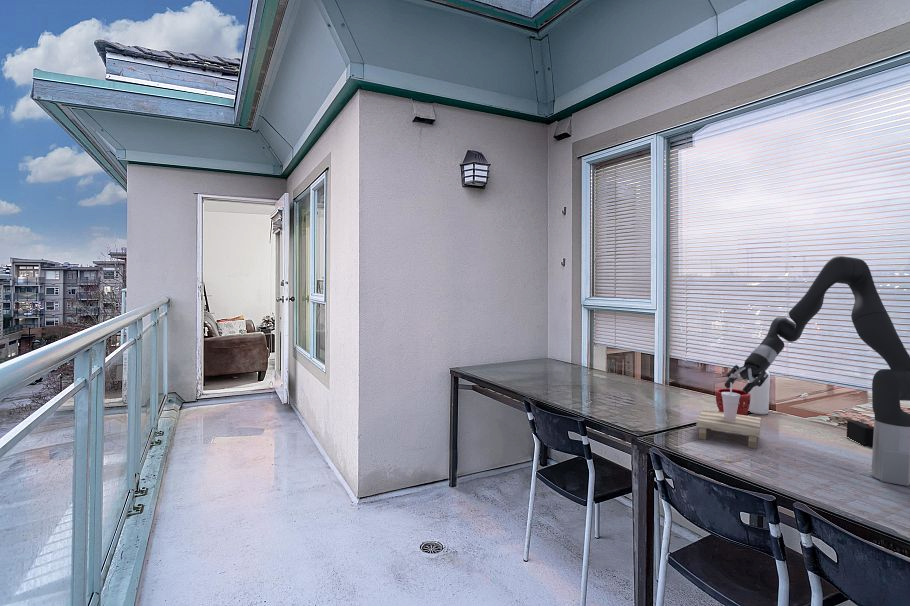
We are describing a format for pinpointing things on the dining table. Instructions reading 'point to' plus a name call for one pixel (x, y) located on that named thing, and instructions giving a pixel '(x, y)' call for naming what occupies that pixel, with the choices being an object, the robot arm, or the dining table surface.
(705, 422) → the low wooden platform
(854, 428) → the digital camera
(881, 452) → the robot arm
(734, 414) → the smoothie
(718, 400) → the plant pot
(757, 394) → the alcohol
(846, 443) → the dining table surface
